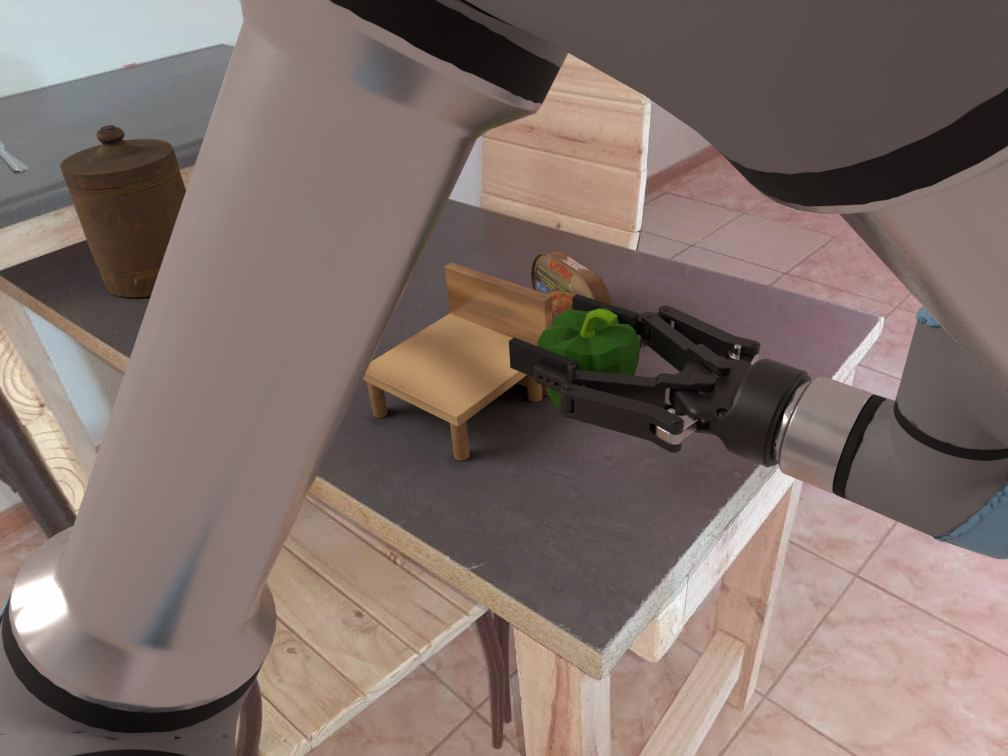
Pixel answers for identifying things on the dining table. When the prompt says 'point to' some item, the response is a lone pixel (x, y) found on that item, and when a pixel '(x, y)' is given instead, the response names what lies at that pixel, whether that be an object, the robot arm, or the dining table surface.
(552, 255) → the tin
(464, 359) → the miniature wooden chair
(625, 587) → the dining table surface
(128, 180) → the wooden container
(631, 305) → the dining table surface
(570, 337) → the bell pepper
